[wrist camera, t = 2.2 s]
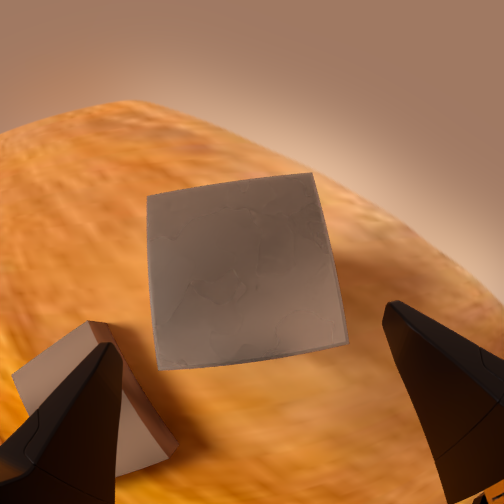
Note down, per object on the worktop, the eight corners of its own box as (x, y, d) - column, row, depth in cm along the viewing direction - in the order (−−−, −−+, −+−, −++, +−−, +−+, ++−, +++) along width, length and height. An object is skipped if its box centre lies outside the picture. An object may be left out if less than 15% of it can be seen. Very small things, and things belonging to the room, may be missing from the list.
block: (181, 442, 16) (169, 458, 13) (91, 475, 14) (73, 487, 11) (109, 323, 18) (87, 320, 15) (33, 373, 17) (11, 375, 14)
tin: (299, 338, 17) (349, 343, 8) (209, 351, 17) (158, 370, 8) (284, 252, 19) (312, 172, 9) (199, 264, 19) (147, 196, 9)
